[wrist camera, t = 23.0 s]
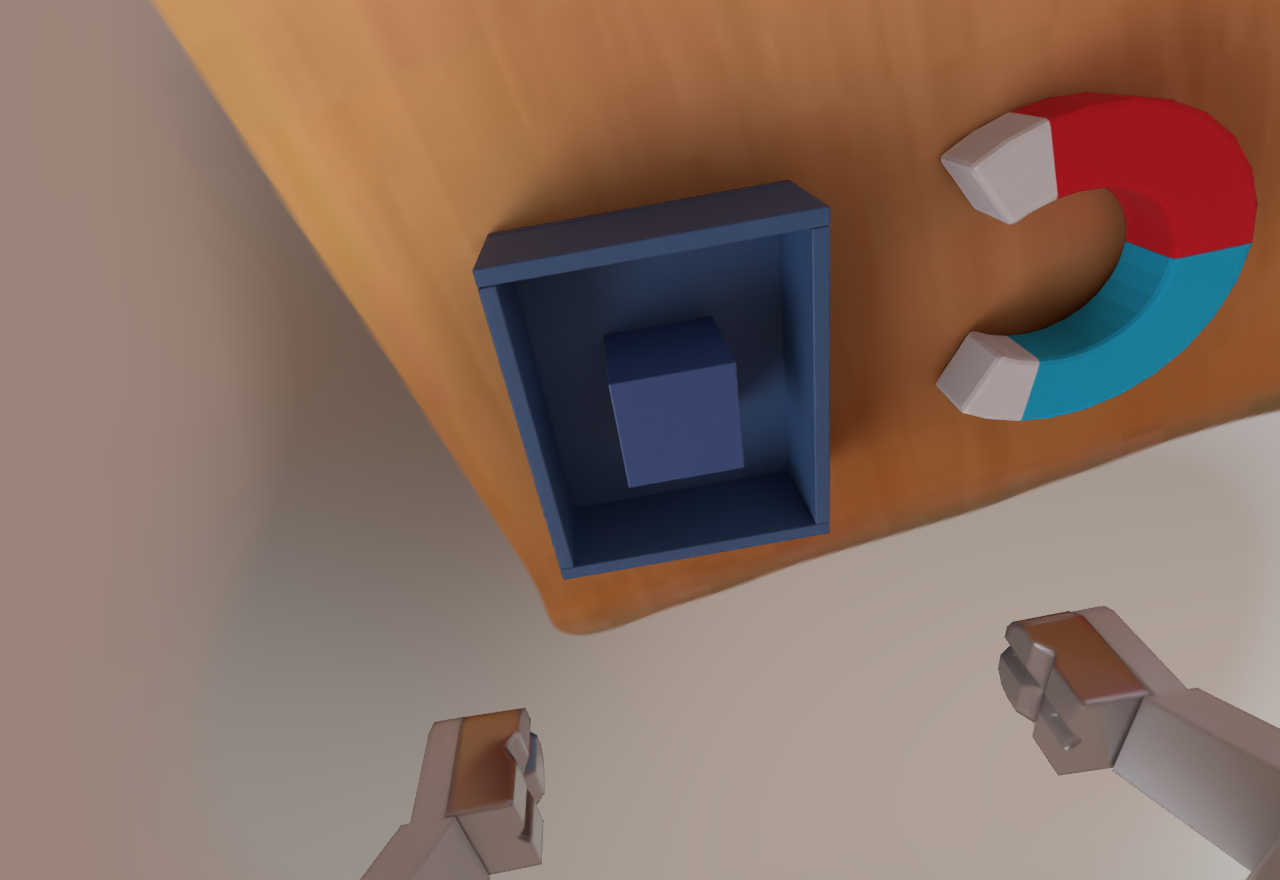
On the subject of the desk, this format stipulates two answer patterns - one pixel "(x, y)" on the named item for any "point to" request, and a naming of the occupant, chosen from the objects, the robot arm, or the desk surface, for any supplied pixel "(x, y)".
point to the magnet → (1151, 257)
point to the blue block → (674, 401)
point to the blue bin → (652, 296)
